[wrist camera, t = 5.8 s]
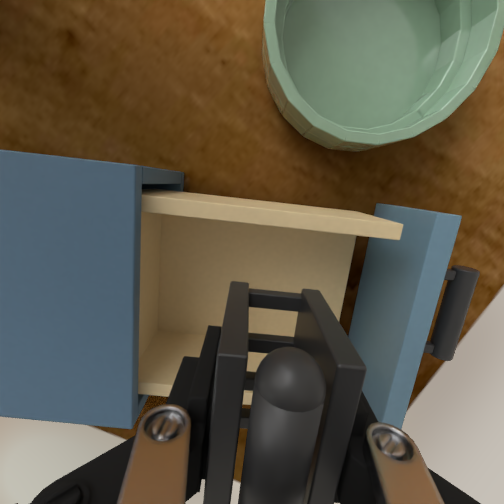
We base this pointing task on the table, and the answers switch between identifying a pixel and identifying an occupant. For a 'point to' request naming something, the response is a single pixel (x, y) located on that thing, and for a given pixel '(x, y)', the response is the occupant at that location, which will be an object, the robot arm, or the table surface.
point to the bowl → (375, 64)
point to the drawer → (299, 283)
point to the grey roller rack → (282, 402)
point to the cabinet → (72, 287)
